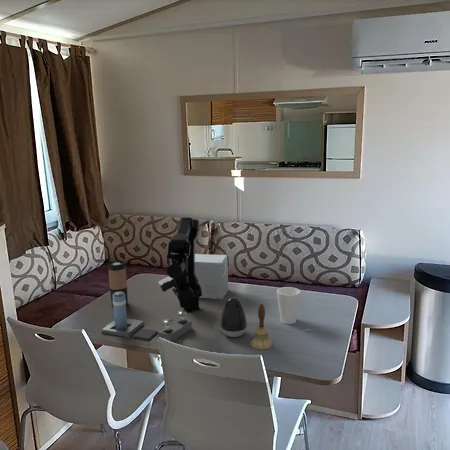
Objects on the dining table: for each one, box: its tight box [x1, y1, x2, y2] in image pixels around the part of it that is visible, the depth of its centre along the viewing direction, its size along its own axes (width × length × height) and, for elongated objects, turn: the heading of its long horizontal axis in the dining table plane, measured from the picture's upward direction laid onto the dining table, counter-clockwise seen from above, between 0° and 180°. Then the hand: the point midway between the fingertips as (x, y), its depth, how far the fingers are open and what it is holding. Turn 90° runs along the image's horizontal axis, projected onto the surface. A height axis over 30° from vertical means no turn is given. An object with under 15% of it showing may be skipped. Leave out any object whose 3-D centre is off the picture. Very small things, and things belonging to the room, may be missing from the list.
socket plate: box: [101, 318, 145, 338], centre depth 183 cm, size 12×12×2 cm
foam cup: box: [276, 286, 301, 325], centre depth 186 cm, size 10×9×13 cm
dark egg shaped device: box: [220, 296, 248, 338], centre depth 175 cm, size 10×10×15 cm
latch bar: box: [157, 319, 193, 342], centre depth 177 cm, size 14×5×3 cm, turn 148°
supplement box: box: [195, 253, 229, 300], centre depth 217 cm, size 17×13×18 cm
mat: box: [132, 327, 159, 341], centre depth 177 cm, size 7×7×1 cm
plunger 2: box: [177, 310, 188, 324], centre depth 180 cm, size 4×4×4 cm
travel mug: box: [107, 260, 129, 307], centre depth 205 cm, size 8×8×20 cm
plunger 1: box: [162, 318, 173, 333], centre depth 173 cm, size 4×4×4 cm
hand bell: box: [249, 303, 273, 351], centre depth 166 cm, size 8×8×16 cm
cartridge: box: [112, 292, 128, 331], centre depth 180 cm, size 5×5×16 cm
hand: (181, 307), depth 179 cm, fingers closed
